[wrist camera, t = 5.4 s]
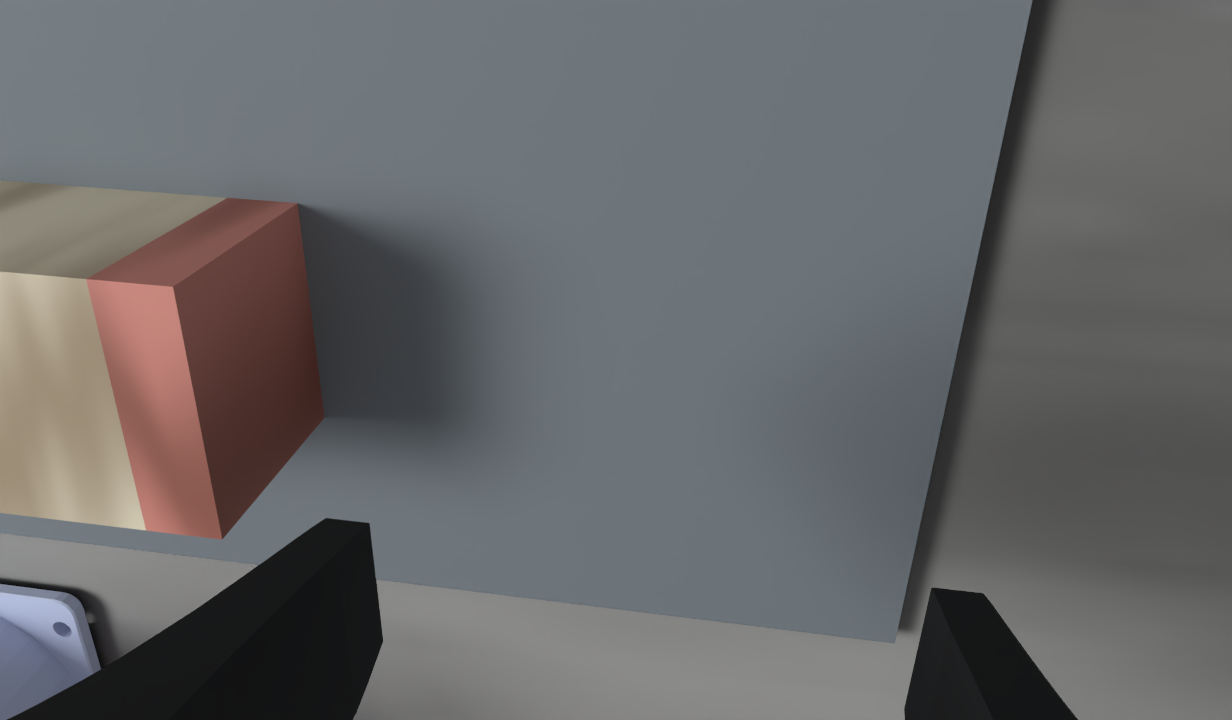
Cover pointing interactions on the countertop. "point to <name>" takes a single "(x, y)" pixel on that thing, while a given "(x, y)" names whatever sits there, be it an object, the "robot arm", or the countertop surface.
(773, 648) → the countertop surface
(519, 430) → the slate mat
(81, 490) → the birch block
